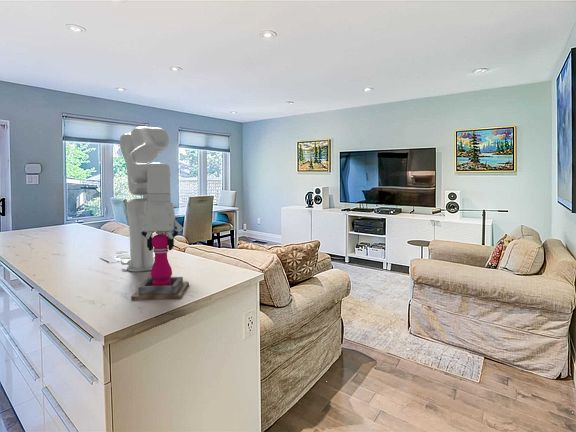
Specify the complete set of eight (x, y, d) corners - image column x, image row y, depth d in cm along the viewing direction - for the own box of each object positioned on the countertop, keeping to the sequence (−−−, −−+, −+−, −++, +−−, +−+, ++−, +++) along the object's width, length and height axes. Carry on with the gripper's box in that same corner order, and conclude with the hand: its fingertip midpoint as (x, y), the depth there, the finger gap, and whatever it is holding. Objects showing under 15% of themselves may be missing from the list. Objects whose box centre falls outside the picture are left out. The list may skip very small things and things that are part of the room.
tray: (167, 257, 184) (167, 250, 184) (111, 268, 165) (110, 260, 164) (151, 251, 199) (151, 245, 198) (98, 260, 180) (97, 253, 179)
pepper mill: (165, 289, 120) (163, 231, 118) (146, 287, 122) (144, 230, 120) (176, 283, 127) (174, 228, 125) (158, 281, 129) (156, 228, 127)
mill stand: (131, 300, 116) (130, 289, 116) (145, 285, 132) (145, 276, 131) (180, 298, 118) (180, 288, 117) (188, 284, 133) (188, 275, 133)
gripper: (129, 199, 117) (131, 252, 119) (182, 199, 119) (183, 251, 120) (136, 198, 124) (138, 248, 126) (186, 198, 126) (187, 247, 128)
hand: (160, 249), depth 123 cm, fingers closed on pepper mill, 6 cm apart
